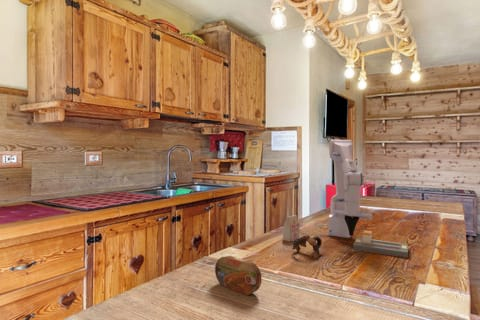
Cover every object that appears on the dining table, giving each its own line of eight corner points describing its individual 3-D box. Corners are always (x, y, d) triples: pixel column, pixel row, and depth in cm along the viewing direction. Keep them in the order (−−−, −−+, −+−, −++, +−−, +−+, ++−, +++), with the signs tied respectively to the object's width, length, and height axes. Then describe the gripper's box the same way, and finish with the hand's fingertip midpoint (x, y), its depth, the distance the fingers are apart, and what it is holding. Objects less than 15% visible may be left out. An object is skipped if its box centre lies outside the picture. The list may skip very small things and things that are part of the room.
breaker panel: (352, 249, 127) (353, 243, 127) (356, 241, 138) (356, 235, 138) (407, 257, 119) (408, 250, 119) (407, 248, 129) (407, 242, 129)
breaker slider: (362, 242, 129) (362, 232, 129) (363, 240, 133) (363, 230, 133) (370, 243, 128) (370, 233, 128) (371, 241, 132) (371, 231, 131)
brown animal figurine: (310, 262, 113) (299, 240, 115) (295, 266, 121) (284, 245, 122) (332, 248, 120) (321, 227, 122) (316, 252, 128) (306, 233, 129)
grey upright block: (282, 239, 139) (283, 216, 139) (292, 237, 144) (293, 214, 144) (289, 241, 137) (290, 217, 136) (299, 238, 141) (300, 215, 141)
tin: (214, 283, 94) (214, 253, 93) (221, 279, 96) (222, 251, 96) (255, 299, 84) (256, 267, 84) (263, 295, 86) (263, 263, 86)
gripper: (332, 201, 132) (331, 234, 133) (370, 204, 126) (369, 239, 126) (335, 199, 138) (334, 230, 139) (372, 202, 132) (371, 235, 132)
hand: (351, 234), depth 133 cm, fingers closed
